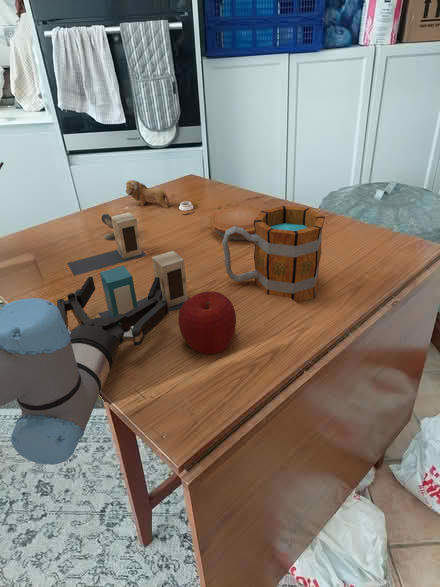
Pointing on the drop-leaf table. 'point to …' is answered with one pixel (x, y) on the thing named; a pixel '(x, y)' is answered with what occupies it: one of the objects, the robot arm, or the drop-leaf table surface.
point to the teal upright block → (118, 291)
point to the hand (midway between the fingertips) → (124, 282)
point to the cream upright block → (171, 277)
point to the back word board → (99, 262)
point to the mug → (283, 252)
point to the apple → (207, 322)
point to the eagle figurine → (108, 222)
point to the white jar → (186, 207)
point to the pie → (235, 221)
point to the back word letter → (126, 235)
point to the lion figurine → (146, 193)
